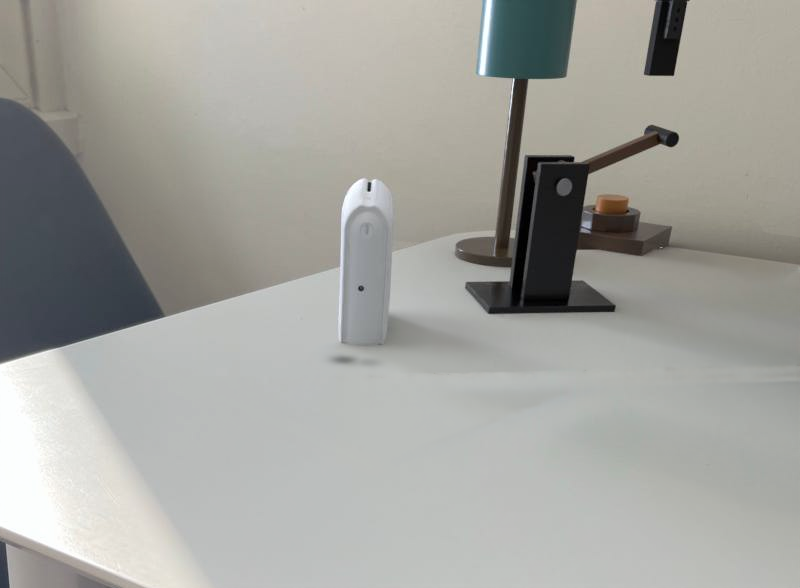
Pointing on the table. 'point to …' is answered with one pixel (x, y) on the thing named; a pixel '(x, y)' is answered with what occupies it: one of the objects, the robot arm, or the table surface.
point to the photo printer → (365, 263)
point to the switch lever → (631, 148)
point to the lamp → (517, 93)
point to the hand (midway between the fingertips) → (658, 75)
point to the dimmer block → (620, 232)
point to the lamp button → (611, 204)
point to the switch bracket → (545, 245)
